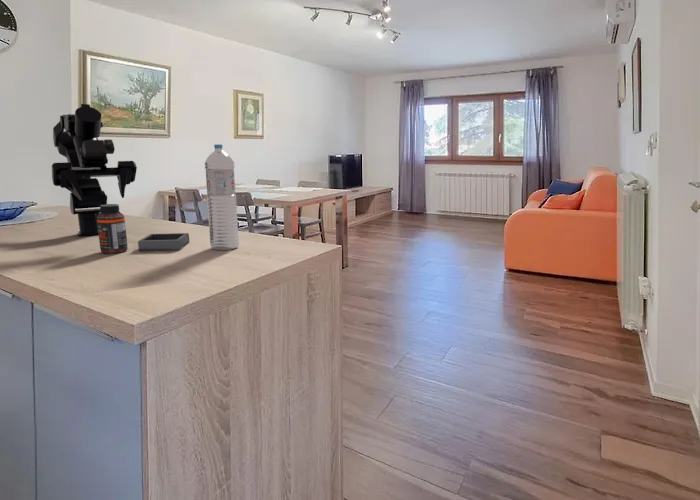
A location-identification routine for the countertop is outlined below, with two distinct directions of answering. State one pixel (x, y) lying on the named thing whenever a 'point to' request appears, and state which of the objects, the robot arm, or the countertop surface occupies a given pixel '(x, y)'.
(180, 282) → the countertop surface
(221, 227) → the water bottle
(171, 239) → the tray
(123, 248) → the supplement bottle
